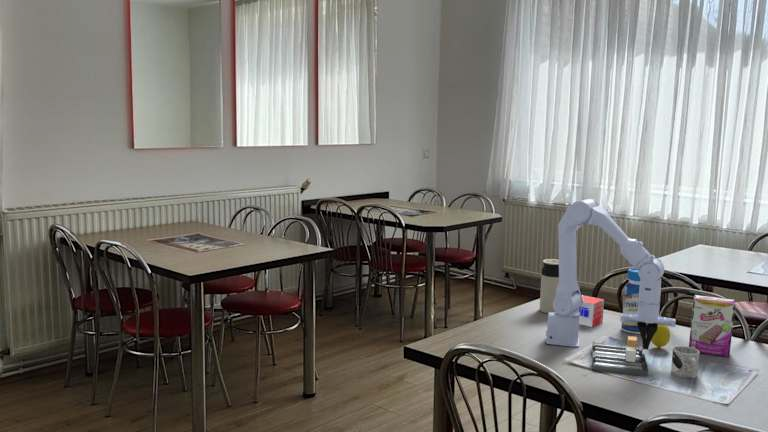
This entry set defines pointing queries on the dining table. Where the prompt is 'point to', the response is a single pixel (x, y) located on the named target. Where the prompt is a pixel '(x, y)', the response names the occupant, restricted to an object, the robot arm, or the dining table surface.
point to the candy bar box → (712, 325)
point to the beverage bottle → (631, 300)
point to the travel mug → (549, 284)
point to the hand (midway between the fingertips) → (645, 348)
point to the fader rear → (632, 342)
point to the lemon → (661, 336)
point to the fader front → (630, 354)
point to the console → (618, 360)
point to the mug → (685, 362)
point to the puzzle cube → (591, 311)
